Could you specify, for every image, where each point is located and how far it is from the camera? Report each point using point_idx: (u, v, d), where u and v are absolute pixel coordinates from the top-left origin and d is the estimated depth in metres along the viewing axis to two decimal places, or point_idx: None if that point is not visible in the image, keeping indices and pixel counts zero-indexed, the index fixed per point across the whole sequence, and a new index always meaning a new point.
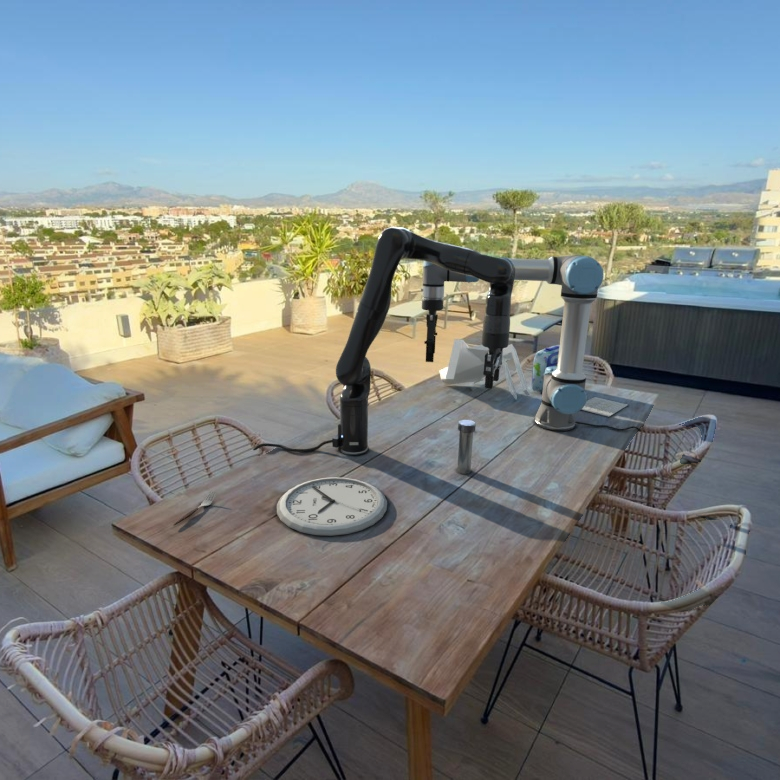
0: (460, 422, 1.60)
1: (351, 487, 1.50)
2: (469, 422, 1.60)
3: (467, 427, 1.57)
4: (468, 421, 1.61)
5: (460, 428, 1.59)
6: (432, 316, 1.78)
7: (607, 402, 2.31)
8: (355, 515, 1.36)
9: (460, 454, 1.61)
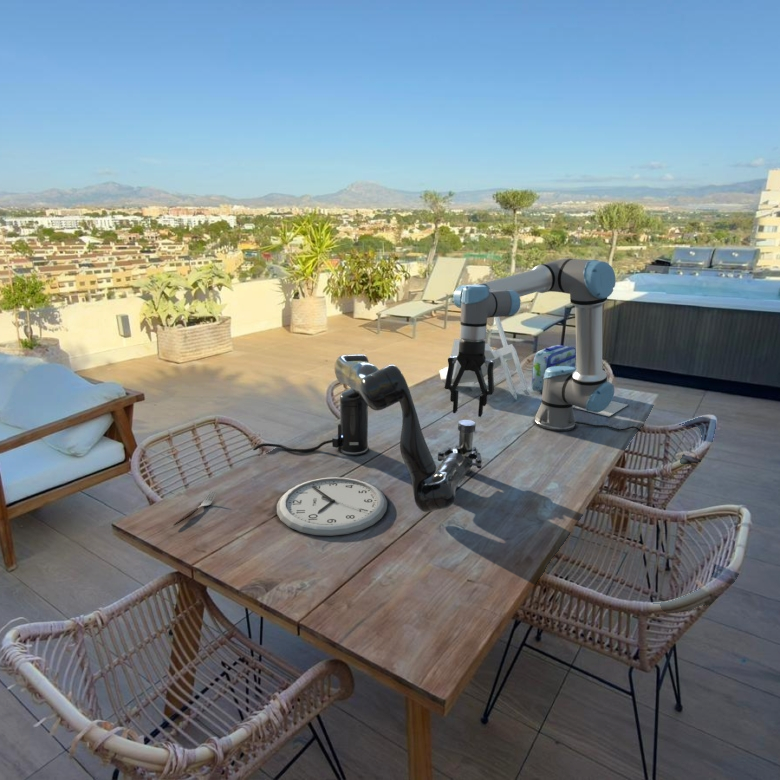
0: (460, 422, 1.60)
1: (351, 487, 1.50)
2: (469, 422, 1.60)
3: (467, 427, 1.57)
4: (468, 421, 1.61)
5: (460, 428, 1.59)
6: None
7: None
8: (355, 515, 1.36)
9: None
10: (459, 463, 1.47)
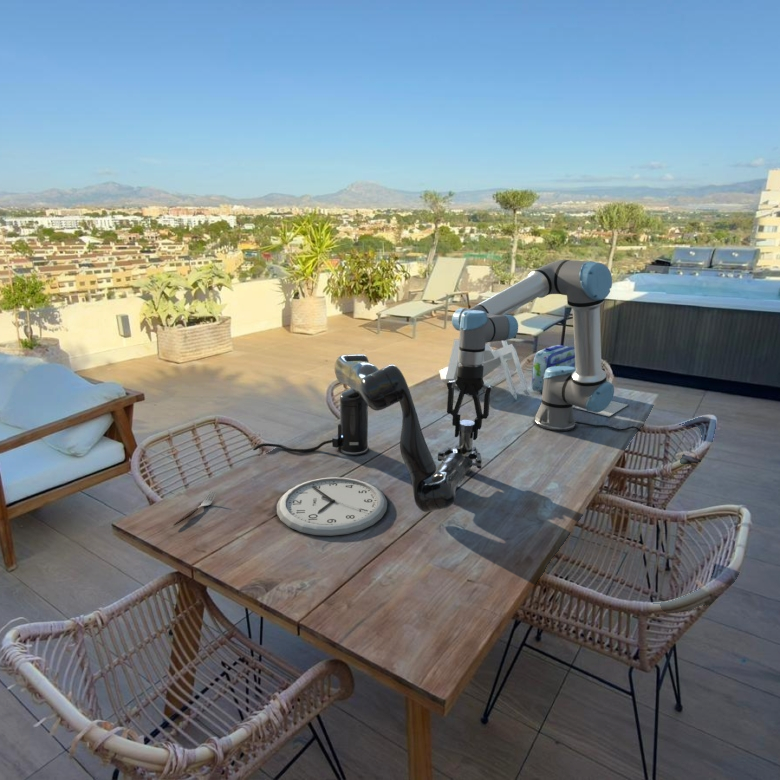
0: (460, 422, 1.60)
1: (351, 487, 1.50)
2: (469, 422, 1.60)
3: (467, 427, 1.57)
4: (468, 421, 1.61)
5: (460, 428, 1.59)
6: None
7: None
8: (355, 515, 1.36)
9: None
10: (459, 463, 1.47)
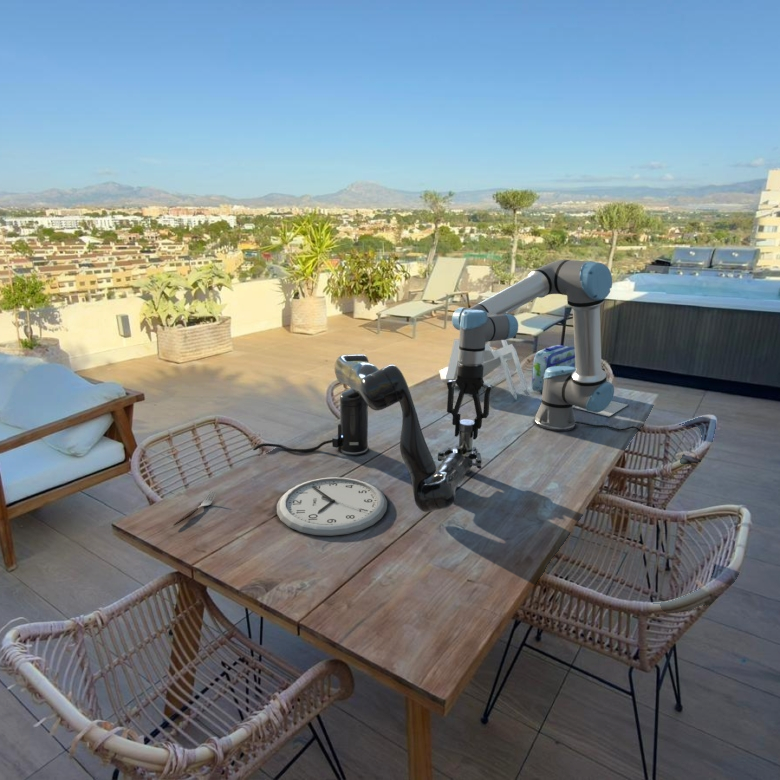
0: (471, 424, 1.58)
1: (351, 487, 1.50)
2: (464, 421, 1.60)
3: None
4: (463, 422, 1.59)
5: None
6: None
7: None
8: (355, 515, 1.36)
9: None
10: (459, 463, 1.47)
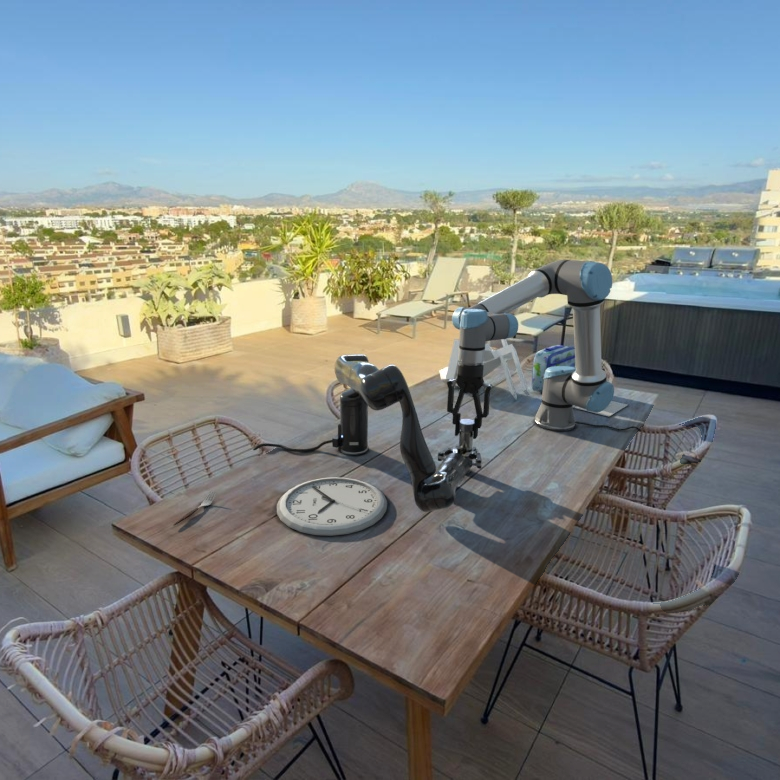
0: (466, 419, 1.61)
1: (351, 487, 1.50)
2: (468, 422, 1.59)
3: None
4: (471, 422, 1.59)
5: None
6: None
7: None
8: (355, 515, 1.36)
9: None
10: (459, 463, 1.47)
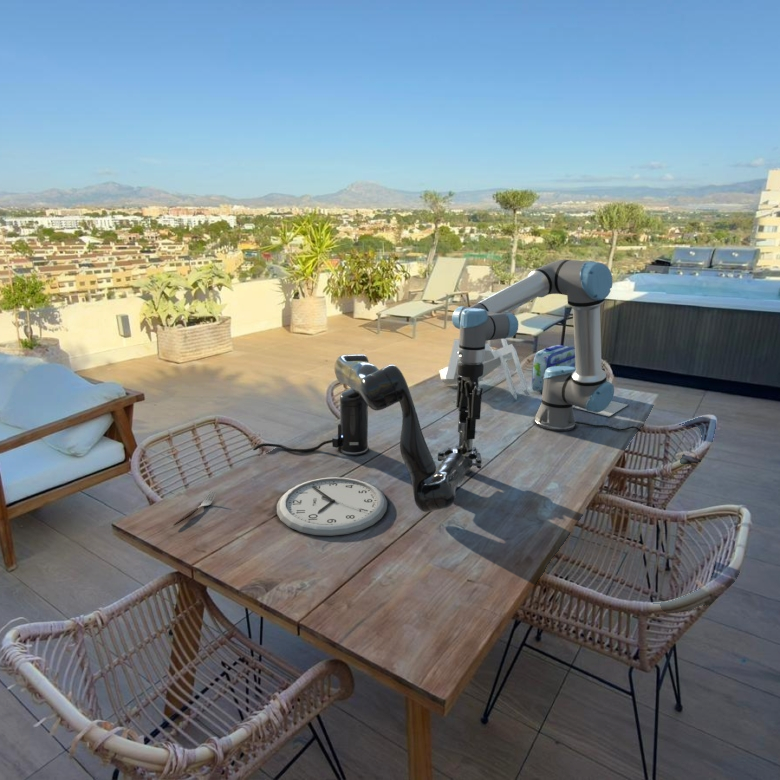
0: (462, 422, 1.58)
1: (351, 487, 1.50)
2: None
3: None
4: (465, 419, 1.61)
5: (465, 428, 1.57)
6: (480, 390, 1.50)
7: None
8: (355, 515, 1.36)
9: None
10: (459, 463, 1.47)
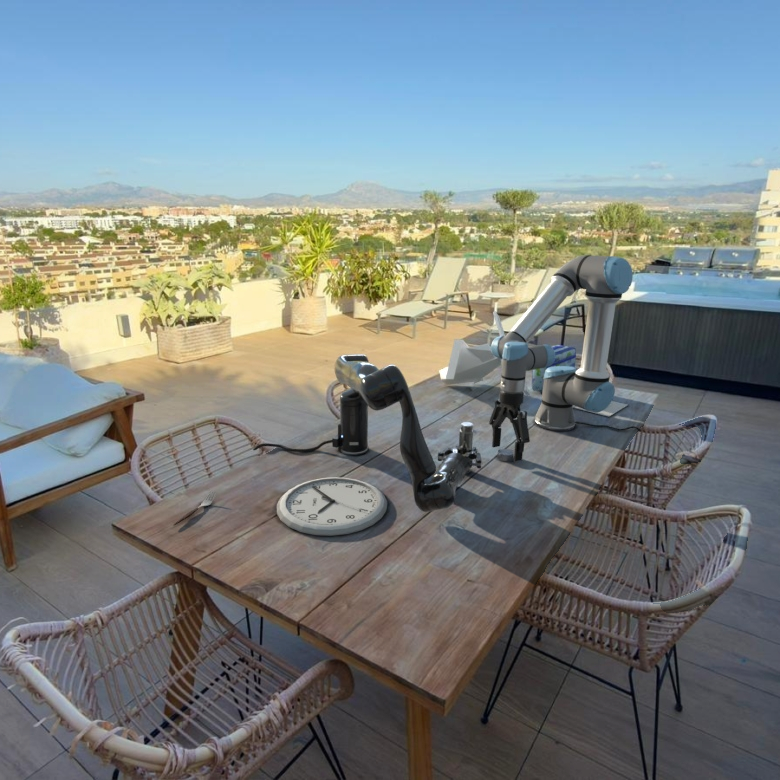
0: (502, 453, 1.72)
1: (351, 487, 1.50)
2: (506, 451, 1.74)
3: (512, 456, 1.72)
4: (503, 450, 1.74)
5: (506, 458, 1.71)
6: (524, 413, 1.63)
7: None
8: (355, 515, 1.36)
9: None
10: (459, 463, 1.47)
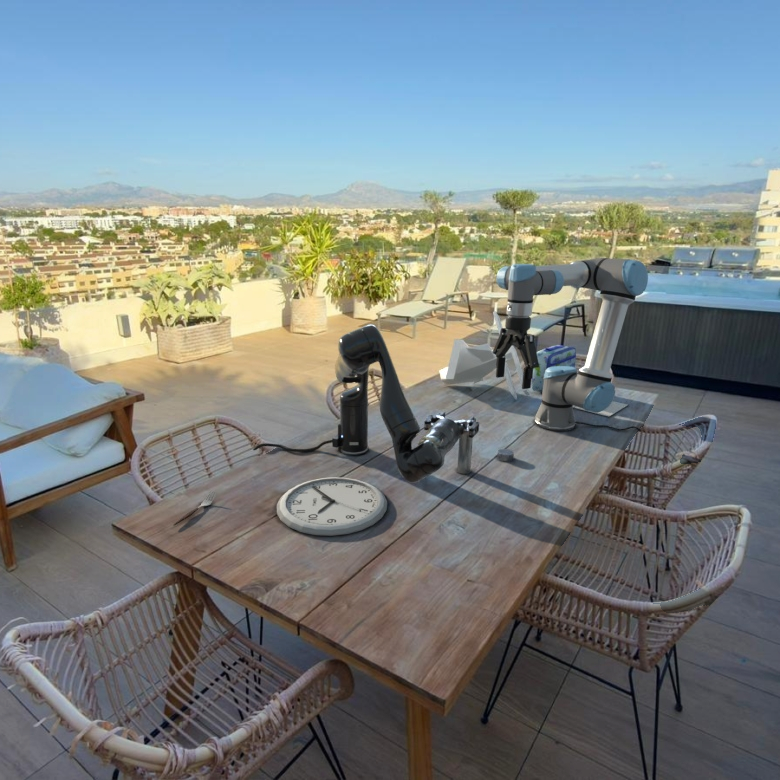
0: (502, 453, 1.72)
1: (351, 487, 1.50)
2: (506, 451, 1.74)
3: (512, 456, 1.72)
4: (503, 450, 1.74)
5: (506, 458, 1.71)
6: (532, 337, 1.56)
7: None
8: (355, 515, 1.36)
9: (460, 454, 1.61)
10: (449, 428, 1.31)
